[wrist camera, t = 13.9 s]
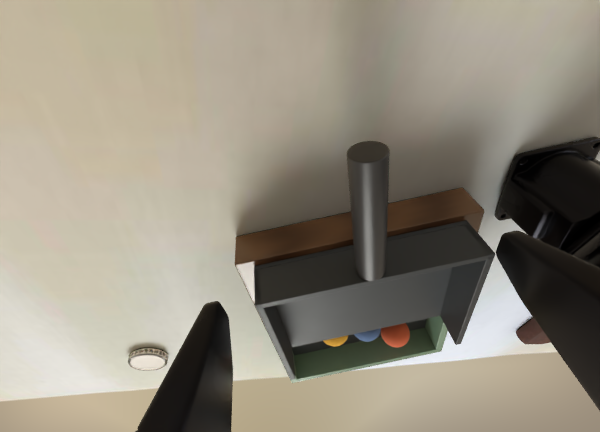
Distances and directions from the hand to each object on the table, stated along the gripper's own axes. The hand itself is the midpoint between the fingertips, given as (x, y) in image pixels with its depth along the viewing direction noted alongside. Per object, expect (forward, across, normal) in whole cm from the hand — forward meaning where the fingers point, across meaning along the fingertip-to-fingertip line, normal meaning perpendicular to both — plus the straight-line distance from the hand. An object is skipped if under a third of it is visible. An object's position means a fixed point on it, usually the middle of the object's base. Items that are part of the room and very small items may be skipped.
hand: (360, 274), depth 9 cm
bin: (+12, -2, +26) cm, 29 cm away
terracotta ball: (+10, -6, +27) cm, 29 cm away
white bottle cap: (+12, +22, +23) cm, 34 cm away
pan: (+9, -2, +11) cm, 14 cm away
